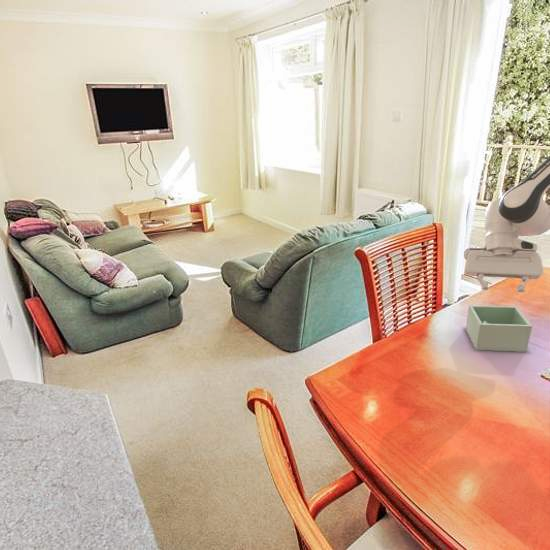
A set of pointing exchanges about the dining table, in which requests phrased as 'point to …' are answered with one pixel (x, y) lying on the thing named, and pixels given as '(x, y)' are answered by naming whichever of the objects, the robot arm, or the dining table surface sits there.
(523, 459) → the dining table surface
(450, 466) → the dining table surface
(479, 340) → the sage green open box
